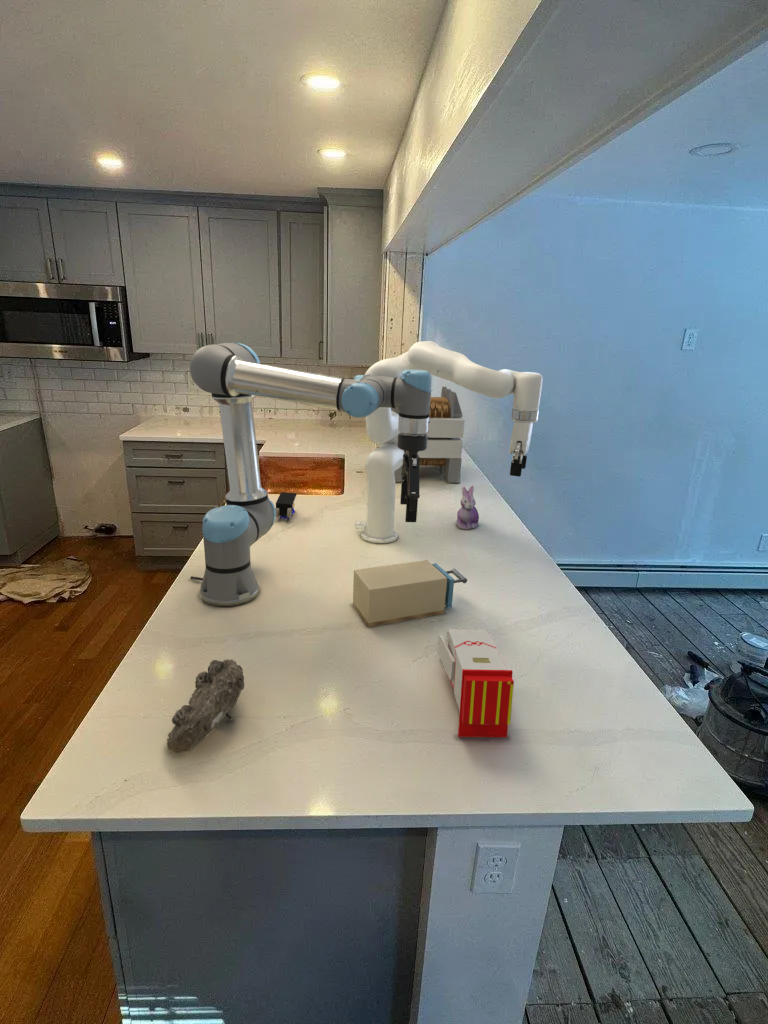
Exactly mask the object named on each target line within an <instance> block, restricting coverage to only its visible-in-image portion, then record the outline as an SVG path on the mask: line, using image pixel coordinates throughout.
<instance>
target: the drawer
mask: <svg viewBox="0 0 768 1024" xmlns="http://www.w3.org/2000/svg"><path fill="white" fill-rule="evenodd" d="M431 564H432V565H433V566H434V567H435V568H437V569H438V570H439V571H440V572H441V573H442V574H443V575H444V576H445V577H446V578H447V586H446V597H445V607H446V608H447V609H451V608H453V599H454V598H453V596H454V587H455V584H458V583H463V584H466V583H467V582H468V579H467V578H466V577H465V575H463V574H462V573H461V572H460V571H458V570H457V569H456V568H451V570H445V569H444V568H442V567H441V566H440V565H439V564H438V563H437V562H434V563H431ZM450 574H452V575H453V576H455V577H456V578H457V579H455V578H453V577H452V576H451V575H450Z"/></svg>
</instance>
